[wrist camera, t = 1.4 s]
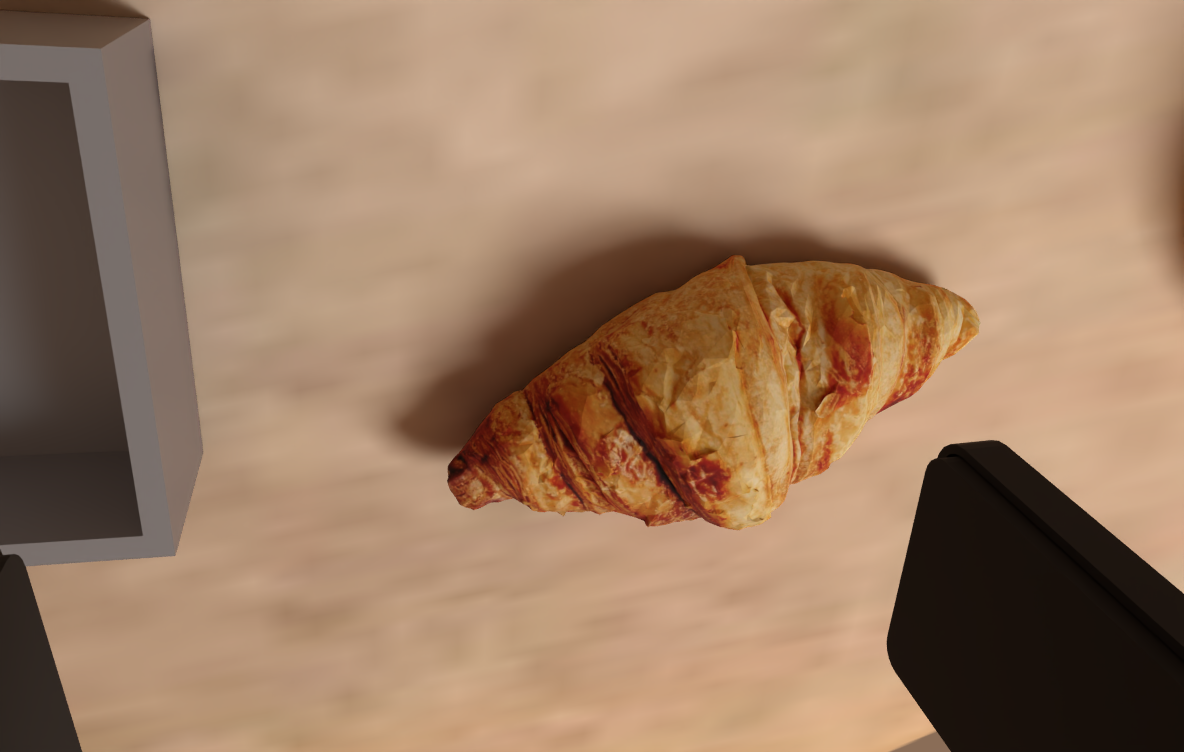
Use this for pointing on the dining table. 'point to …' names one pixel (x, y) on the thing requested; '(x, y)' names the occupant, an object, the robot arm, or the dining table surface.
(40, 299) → the bin
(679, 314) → the croissant
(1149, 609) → the robot arm
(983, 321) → the dining table surface
